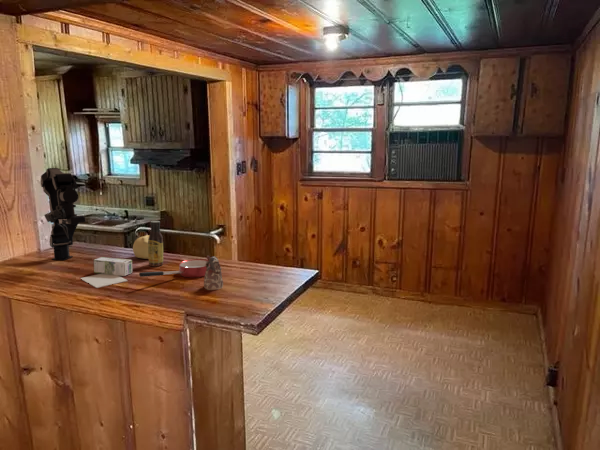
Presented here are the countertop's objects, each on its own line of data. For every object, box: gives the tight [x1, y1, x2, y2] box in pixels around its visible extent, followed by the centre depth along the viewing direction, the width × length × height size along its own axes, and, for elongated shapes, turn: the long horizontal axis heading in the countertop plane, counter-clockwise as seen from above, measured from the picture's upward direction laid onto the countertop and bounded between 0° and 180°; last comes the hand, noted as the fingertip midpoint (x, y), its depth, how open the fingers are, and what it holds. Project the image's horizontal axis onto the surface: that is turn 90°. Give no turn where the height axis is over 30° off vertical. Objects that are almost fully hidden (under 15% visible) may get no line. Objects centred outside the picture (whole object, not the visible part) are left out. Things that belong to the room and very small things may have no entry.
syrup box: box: [93, 256, 133, 277], centre depth 179 cm, size 6×6×14 cm
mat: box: [80, 273, 129, 289], centre depth 171 cm, size 16×12×1 cm
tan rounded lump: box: [132, 234, 150, 260], centre depth 204 cm, size 11×12×11 cm
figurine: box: [203, 255, 224, 291], centre depth 163 cm, size 7×7×12 cm
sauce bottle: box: [148, 220, 164, 267], centre depth 191 cm, size 7×6×20 cm
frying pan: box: [139, 258, 210, 279], centre depth 172 cm, size 32×13×6 cm, turn 148°
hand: (70, 239), depth 185 cm, fingers closed
